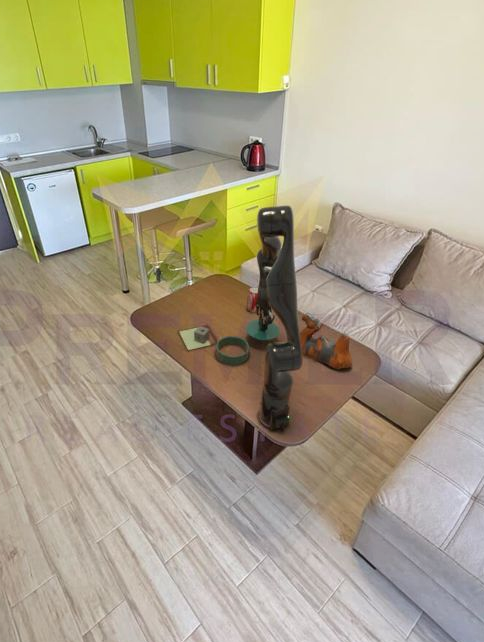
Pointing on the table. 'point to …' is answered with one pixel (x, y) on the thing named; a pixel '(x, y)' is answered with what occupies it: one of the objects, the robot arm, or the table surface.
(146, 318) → the table surface
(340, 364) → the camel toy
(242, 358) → the pot
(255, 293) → the soda can
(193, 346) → the placemat
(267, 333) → the pot lid
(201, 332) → the dice cube
